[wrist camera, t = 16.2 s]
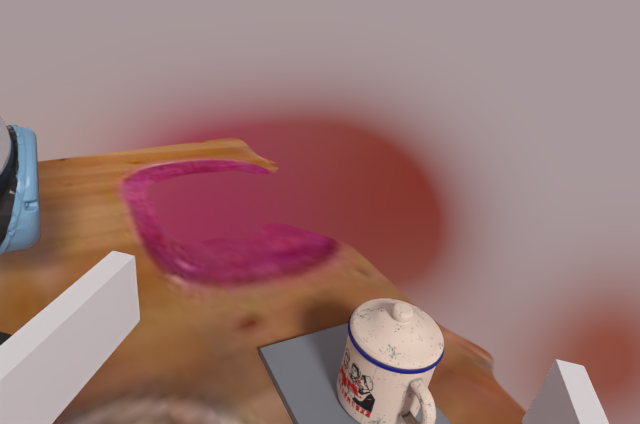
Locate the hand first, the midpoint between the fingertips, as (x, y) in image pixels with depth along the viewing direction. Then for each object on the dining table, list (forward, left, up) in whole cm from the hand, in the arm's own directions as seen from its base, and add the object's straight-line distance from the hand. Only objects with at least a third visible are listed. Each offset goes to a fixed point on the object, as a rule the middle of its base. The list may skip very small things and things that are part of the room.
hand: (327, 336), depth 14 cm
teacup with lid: (-12, +18, -27) cm, 34 cm away
